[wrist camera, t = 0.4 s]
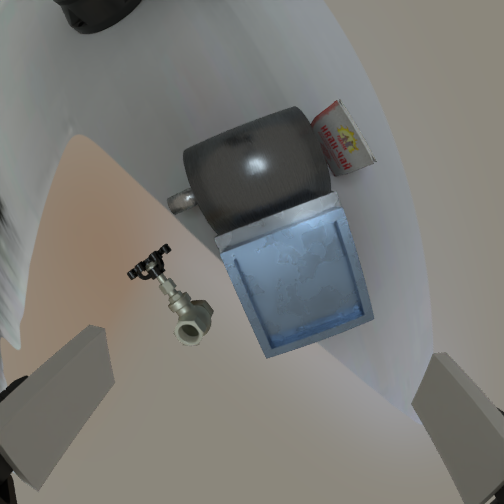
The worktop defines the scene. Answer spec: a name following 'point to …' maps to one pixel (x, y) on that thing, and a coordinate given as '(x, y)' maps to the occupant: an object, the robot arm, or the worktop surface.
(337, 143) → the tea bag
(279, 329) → the motor
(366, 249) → the worktop surface
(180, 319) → the valve
